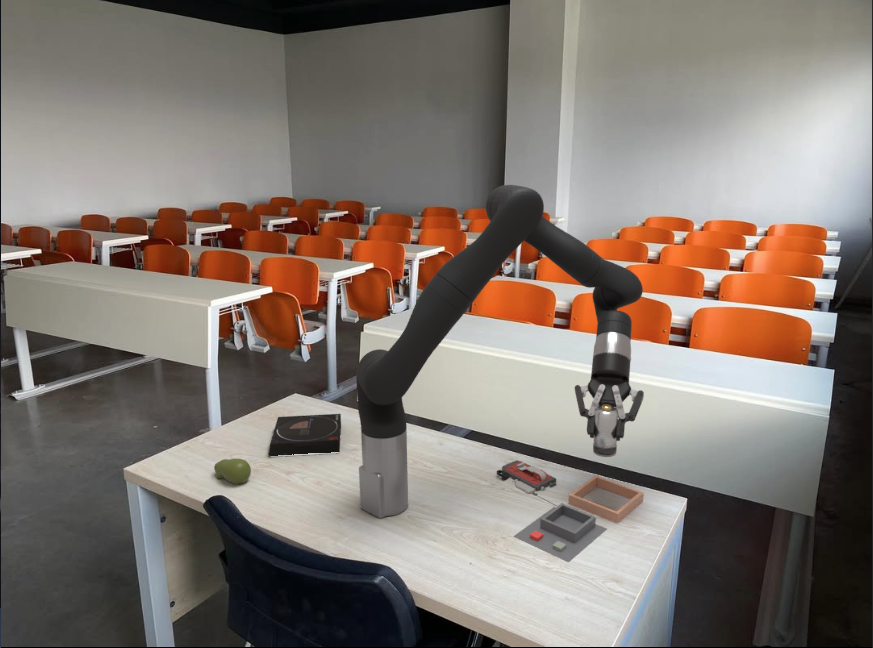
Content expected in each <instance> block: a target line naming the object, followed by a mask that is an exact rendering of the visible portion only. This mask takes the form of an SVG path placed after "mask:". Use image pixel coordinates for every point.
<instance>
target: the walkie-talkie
mask: <svg viewBox="0 0 873 648" xmlns="http://www.w3.org/2000/svg"><path fill="white" fill-rule="evenodd" d="M496 475H497V476H498V477H501V479H502V481H507V480H508V479H510V478H511V479H512V483H513V484H514V485H515V488H517V489H519V490H521V491H522V492H524V493H525V494H527V495H530V494H531V495H533V496H537V497H539V498H541V499H542V500H544V501H546V502H547V503H549V504H552V505H554V507H557V506H558V505H556V504H554V503H553V502H551V501H549V500H547V499H545V498H543V497H542V496H540V495H538V493H536V492H539V491H542V492H543V491H545V490H546V488H548V487H549V489H551V488H553V487H556V486H557V478H556V477H554V476H552V475H550V474H548V473H547V472H546V471H545V470H542V469H539V468H538V467H536V466H534V465H530V464H528V463H525V462H524V461H522V460H518V459H516V460H514V461H512V462H509V463H506V464H504V465H502V467H501V469H498V470H497V471H496Z"/></svg>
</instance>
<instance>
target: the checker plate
mask: <svg viewBox="0 0 873 648" xmlns="http://www.w3.org/2000/svg"><path fill="white" fill-rule="evenodd" d="M596 520H597V517H596V516H594V515H593V514H589V513H588V512H585V511H583V510H581V509H580V510H579V508H578V509H577V508H576V507H574V506H570V505H569V504H568V505H567V504H564V503H560V504H559V505H557V506H553V507H552V508H551V509H548V511H546V512H545V513H543V514H542V515H541V516H539V517H538V518H536V519H535V520H534V521H532V522H531V523H530V524H528V525H527V526H526V527H524V528H523V529H521V530H520V531H519V532H518V533H516V534H515V535H513V536H512V537H514V538H516V539H518V540H520V541H522V542H524V543H527V544H528V545H531V546H533V547H535V548H537V549H539V550H541V551H543V552H546V553H548V554H550V555H552V556H553V557H556V558H558V559H560V560H563V561H564V562H566V563H570V562H571V561H572V560H573V559H574V558H576V556H578V555H579V554H580V553H581V552H583V551H584V550H585V549H586V548H588V546H589V545H591V544H592V543H594V541H595V540H596V539H598V538H599V537H600V536H601V535H602V534H603V533H605V532H606V531H607V530H608V528H606V527H603V526H602V525H599V524H597V523H596Z"/></svg>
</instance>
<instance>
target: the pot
mask: <svg viewBox="0 0 873 648" xmlns="http://www.w3.org/2000/svg"><path fill="white" fill-rule="evenodd" d="M596 487H598V488H601V489H603V490H606V491H608V492H611V493H614V494H617V495H620V496H621V497H624V498H628V499H629V500H628V501H627V502H626V503H624V505H622V506H621V507H619V509H617V510H614V509H611V508H608V507H606V506H604V505H601V504H598V503H595V502H593V501H590V500H588V499H585V498H583V497H584V496H585V495H587V494H588V493H590V491H592V490H593V489H595V488H596ZM567 499H568V501H567V502H568V503H567V504H568V505H569V506H570V505H571V507H574V508H576V509H577V508H578V509H580V510H581V511H584V512H585V511H586V513H591V515H596V516H597V517H600V518H602V519H605V520H607V521H610V522H613V523H615V524H619V522H621V521H622V520H623V519H624V518H625V517H627V516H628V515H629V514H630V513H631V512H633V511H634V510H635V509H636V508H637V507H638V506H639V505H640V504H642V503H643V502H644V492H643V491H640V490H637V489H635V488H632V487H630V486H626V485H623V484H621V483H619V482H616V481H613V480H609V479H607V478H605V477H601V476H599V475H596V474H595V475H594V476H593V477H591V478H589V480H587V481H586V482H584V483H583V484H581V485H580V486H579V487H577V488H576V489H575V490H573V491H572V492H570V493H569V494H568V498H567Z"/></svg>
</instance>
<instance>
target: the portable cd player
mask: <svg viewBox="0 0 873 648" xmlns="http://www.w3.org/2000/svg"><path fill="white" fill-rule="evenodd" d="M340 435H342V414H341V413H330V414H308V415H293V416H292V415H289V416H277V418H276V422H275V427H274V430H273V432H272V437H271V440H270V443H269V449H268V454H267V455H268V456H269V457H270V456H278V455H292V454H293V455H294V454H308V453H331V452H340V451H341V438H340Z"/></svg>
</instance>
